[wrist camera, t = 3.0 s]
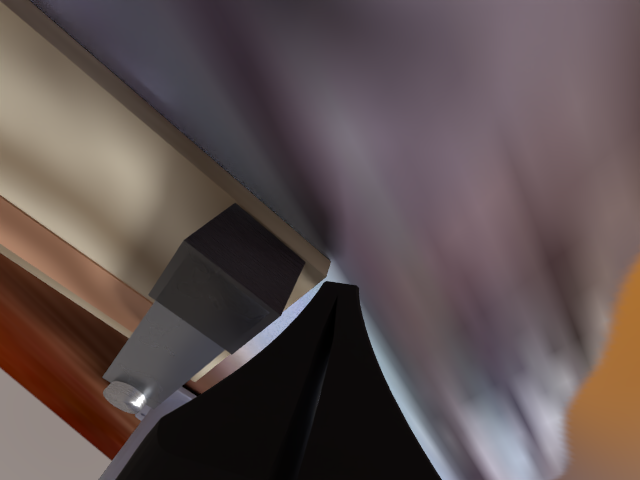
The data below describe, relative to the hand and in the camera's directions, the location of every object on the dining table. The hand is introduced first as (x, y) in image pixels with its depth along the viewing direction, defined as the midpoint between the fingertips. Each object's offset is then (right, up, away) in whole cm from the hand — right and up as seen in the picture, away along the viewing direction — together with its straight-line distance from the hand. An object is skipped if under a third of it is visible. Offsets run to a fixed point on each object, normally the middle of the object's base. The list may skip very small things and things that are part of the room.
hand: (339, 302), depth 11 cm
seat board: (-11, +3, +4) cm, 12 cm away
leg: (-7, -1, +3) cm, 7 cm away
